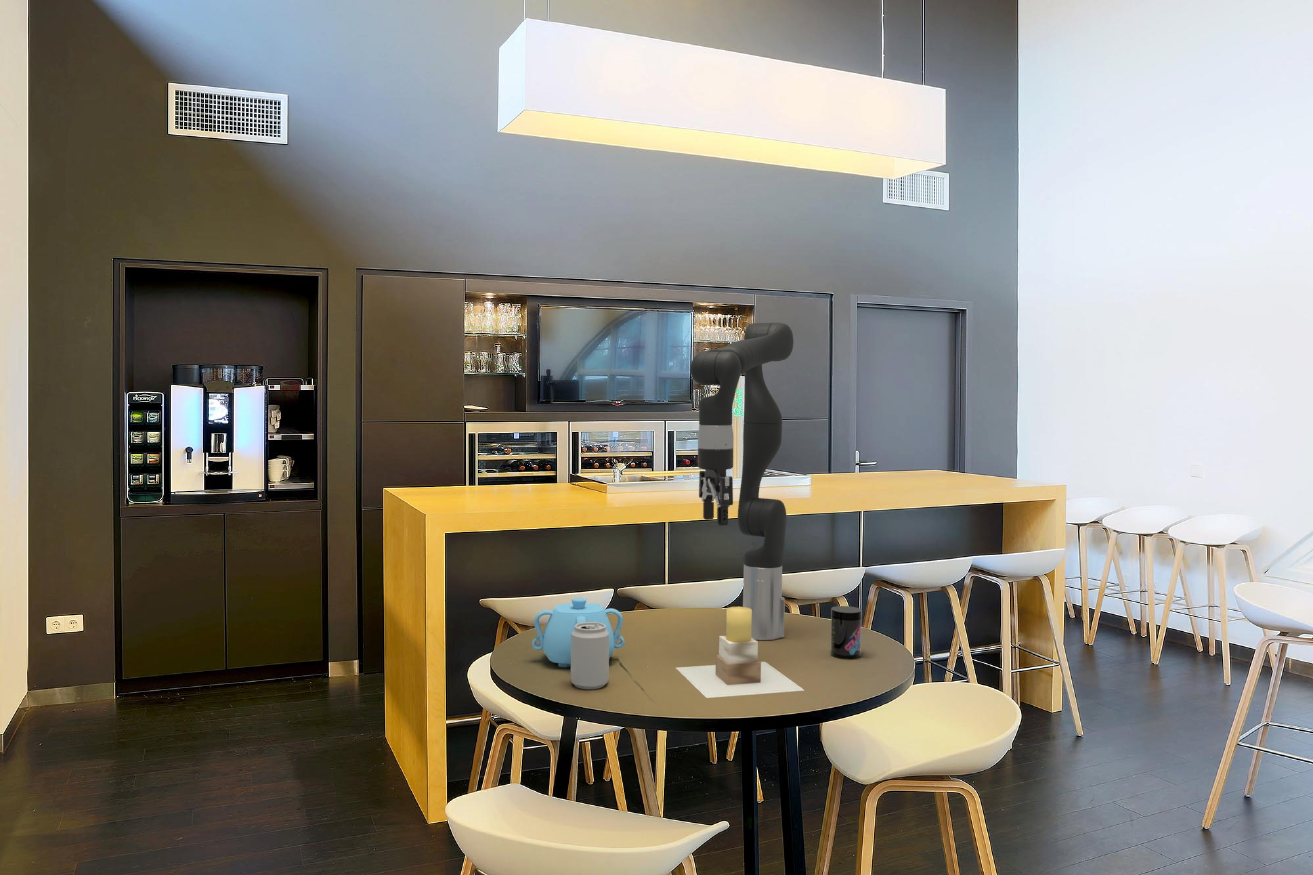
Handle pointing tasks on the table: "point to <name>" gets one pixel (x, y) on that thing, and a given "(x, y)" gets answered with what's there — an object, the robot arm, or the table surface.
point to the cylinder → (738, 624)
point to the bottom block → (738, 672)
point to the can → (589, 655)
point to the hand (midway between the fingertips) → (715, 522)
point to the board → (716, 687)
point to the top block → (738, 651)
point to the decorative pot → (572, 628)
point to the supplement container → (846, 632)
